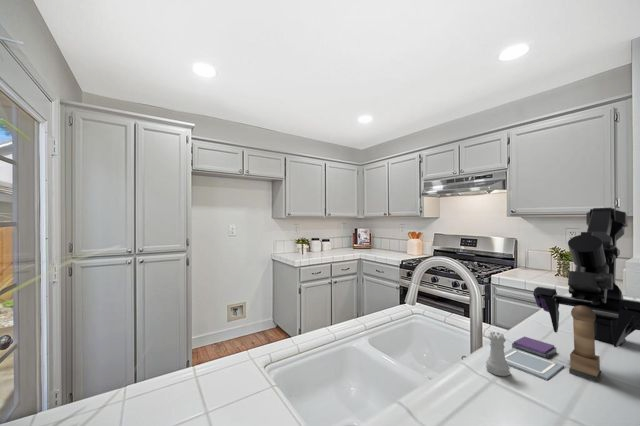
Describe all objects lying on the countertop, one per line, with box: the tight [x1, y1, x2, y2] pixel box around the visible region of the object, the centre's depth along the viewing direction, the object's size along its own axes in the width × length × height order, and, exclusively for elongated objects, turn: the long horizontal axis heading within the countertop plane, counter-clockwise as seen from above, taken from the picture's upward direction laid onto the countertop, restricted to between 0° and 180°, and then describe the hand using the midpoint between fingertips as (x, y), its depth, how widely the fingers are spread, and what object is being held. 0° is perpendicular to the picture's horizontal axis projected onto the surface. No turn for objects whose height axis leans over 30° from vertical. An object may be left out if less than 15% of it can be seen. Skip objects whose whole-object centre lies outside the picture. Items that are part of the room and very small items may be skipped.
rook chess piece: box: [485, 331, 511, 377], centre depth 59 cm, size 4×4×8 cm
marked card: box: [504, 347, 565, 381], centre depth 62 cm, size 10×10×1 cm
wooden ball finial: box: [568, 305, 603, 383], centre depth 58 cm, size 4×4×14 cm
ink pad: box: [511, 336, 558, 360], centre depth 69 cm, size 7×7×2 cm
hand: (583, 338), depth 57 cm, fingers open, 9 cm apart
